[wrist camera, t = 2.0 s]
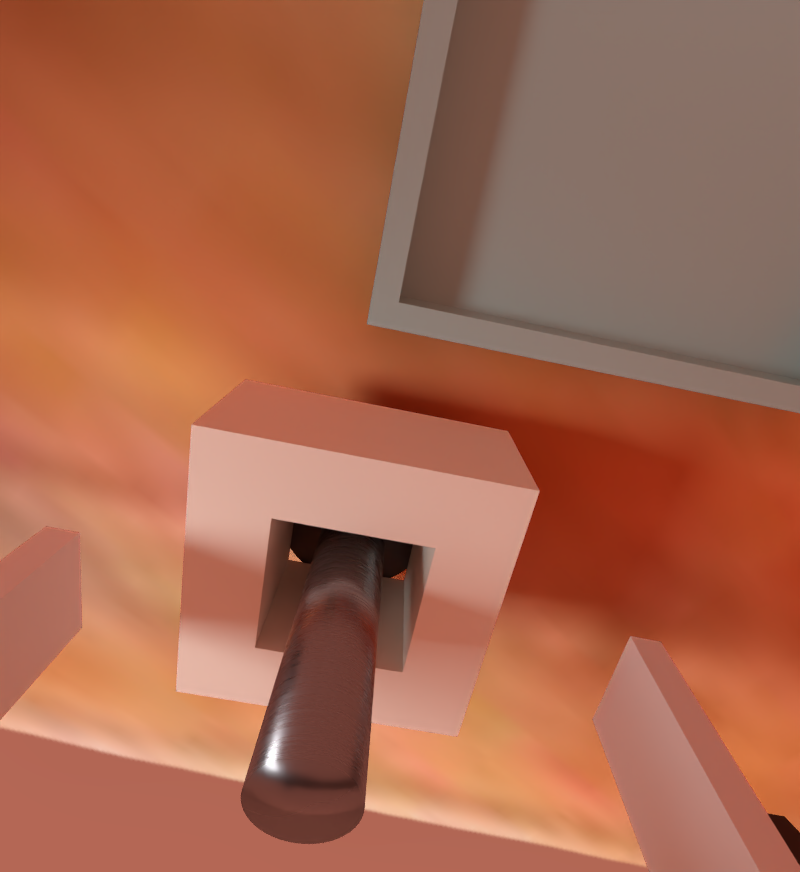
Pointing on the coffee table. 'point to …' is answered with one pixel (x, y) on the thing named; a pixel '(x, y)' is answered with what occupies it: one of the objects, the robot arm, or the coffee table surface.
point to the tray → (604, 190)
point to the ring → (355, 513)
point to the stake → (323, 692)
